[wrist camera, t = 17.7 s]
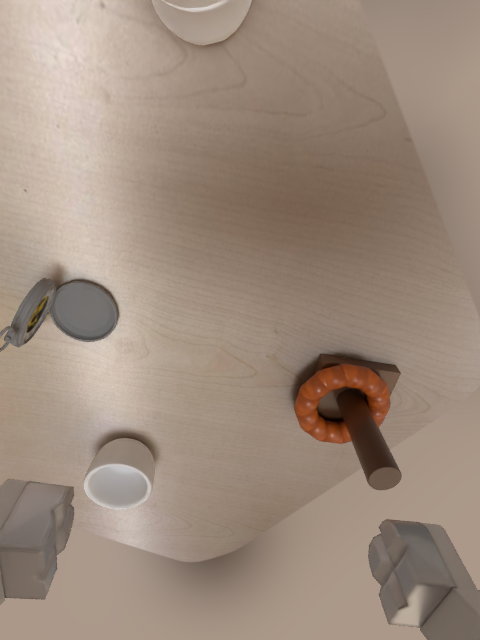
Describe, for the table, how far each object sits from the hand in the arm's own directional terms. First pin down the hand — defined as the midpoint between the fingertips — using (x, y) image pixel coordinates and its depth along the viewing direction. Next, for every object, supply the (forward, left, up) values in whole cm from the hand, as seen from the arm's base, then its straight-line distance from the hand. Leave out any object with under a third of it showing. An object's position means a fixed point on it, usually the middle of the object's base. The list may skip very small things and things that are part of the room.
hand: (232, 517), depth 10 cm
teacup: (+8, +31, -29) cm, 43 cm away
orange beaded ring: (-16, +16, -26) cm, 35 cm away
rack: (-17, +16, -29) cm, 37 cm away
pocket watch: (+14, +10, -29) cm, 34 cm away
